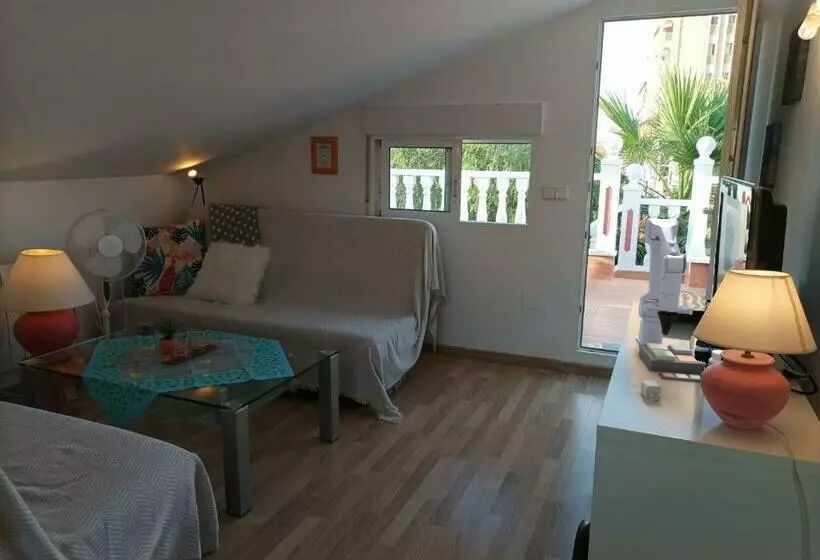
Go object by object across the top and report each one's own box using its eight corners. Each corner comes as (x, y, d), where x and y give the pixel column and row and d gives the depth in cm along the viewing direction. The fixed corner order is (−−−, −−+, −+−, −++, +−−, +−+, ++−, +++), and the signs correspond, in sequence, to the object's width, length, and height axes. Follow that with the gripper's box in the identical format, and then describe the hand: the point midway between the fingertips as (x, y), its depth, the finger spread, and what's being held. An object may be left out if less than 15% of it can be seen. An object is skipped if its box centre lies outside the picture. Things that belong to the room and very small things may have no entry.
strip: (662, 379, 183) (662, 376, 183) (658, 374, 187) (659, 371, 187) (704, 382, 182) (705, 379, 182) (700, 377, 186) (700, 374, 186)
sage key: (651, 358, 196) (652, 349, 195) (669, 359, 195) (670, 350, 195) (655, 364, 191) (656, 355, 190) (673, 365, 190) (675, 356, 189)
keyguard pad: (638, 354, 205) (639, 344, 204) (688, 358, 203) (690, 347, 202) (650, 371, 190) (651, 360, 189) (704, 375, 188) (706, 364, 187)
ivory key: (646, 351, 203) (647, 342, 202) (663, 352, 202) (664, 344, 201) (650, 357, 197) (651, 348, 197) (667, 358, 197) (668, 349, 196)
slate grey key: (668, 353, 202) (669, 344, 201) (685, 354, 201) (686, 345, 201) (672, 358, 197) (673, 349, 196) (690, 359, 196) (691, 350, 195)
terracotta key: (673, 363, 195) (674, 354, 195) (691, 365, 195) (692, 356, 194) (678, 369, 190) (680, 360, 189) (697, 371, 189) (698, 361, 189)
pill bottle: (722, 381, 183) (727, 349, 181) (730, 388, 178) (735, 356, 176) (702, 380, 184) (707, 348, 182) (709, 387, 178) (714, 354, 176)
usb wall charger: (654, 394, 172) (656, 380, 171) (663, 404, 166) (664, 390, 165) (640, 393, 172) (641, 379, 172) (648, 403, 166) (649, 389, 165)
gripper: (649, 294, 191) (644, 336, 194) (698, 297, 189) (692, 339, 192) (643, 289, 198) (639, 329, 201) (690, 292, 196) (685, 332, 199)
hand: (664, 334), depth 197 cm, fingers closed
